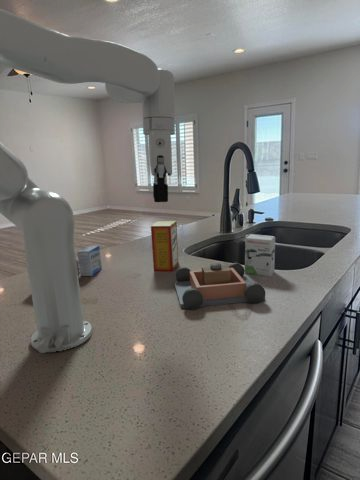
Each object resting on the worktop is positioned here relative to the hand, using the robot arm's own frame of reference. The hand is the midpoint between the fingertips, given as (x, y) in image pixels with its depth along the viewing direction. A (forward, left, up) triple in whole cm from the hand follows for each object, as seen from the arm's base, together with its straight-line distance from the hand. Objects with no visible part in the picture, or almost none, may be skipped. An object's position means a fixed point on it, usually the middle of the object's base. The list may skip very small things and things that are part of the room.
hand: (160, 200), depth 83 cm
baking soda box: (+29, -2, -27) cm, 40 cm away
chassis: (+3, -14, -27) cm, 30 cm away
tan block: (+3, -14, -26) cm, 30 cm away
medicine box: (+30, +24, -27) cm, 47 cm away
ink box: (+16, -31, -27) cm, 44 cm away
